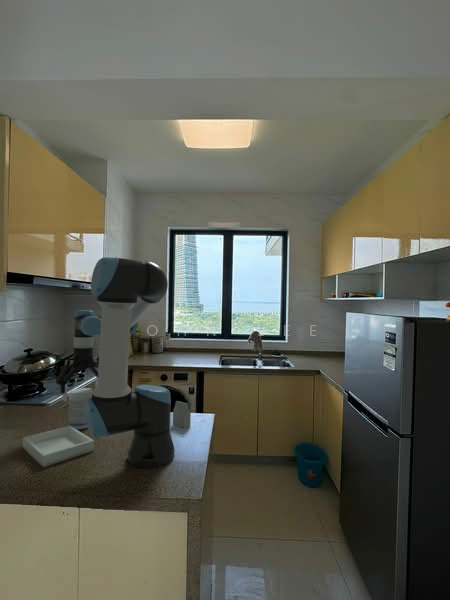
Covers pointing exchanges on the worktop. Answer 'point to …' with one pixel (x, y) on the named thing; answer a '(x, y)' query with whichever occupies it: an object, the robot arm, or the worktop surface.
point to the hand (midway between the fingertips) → (81, 397)
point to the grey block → (181, 415)
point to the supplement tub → (78, 407)
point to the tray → (57, 445)
